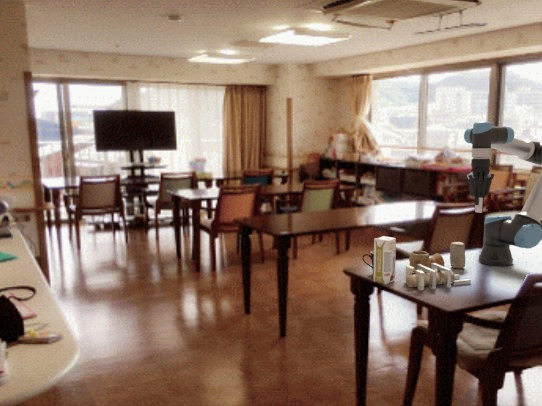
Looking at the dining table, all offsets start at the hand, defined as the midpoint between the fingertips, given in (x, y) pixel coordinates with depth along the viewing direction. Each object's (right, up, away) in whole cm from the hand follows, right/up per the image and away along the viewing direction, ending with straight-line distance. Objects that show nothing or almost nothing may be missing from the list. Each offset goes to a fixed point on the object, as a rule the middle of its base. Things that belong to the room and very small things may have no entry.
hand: (478, 212), depth 215 cm
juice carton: (-42, -30, -4) cm, 52 cm away
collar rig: (-20, -30, -8) cm, 37 cm away
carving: (-3, -27, +16) cm, 31 cm away
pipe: (-20, -28, +9) cm, 36 cm away
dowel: (-24, -30, -9) cm, 40 cm away
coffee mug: (-42, -28, +9) cm, 52 cm away
